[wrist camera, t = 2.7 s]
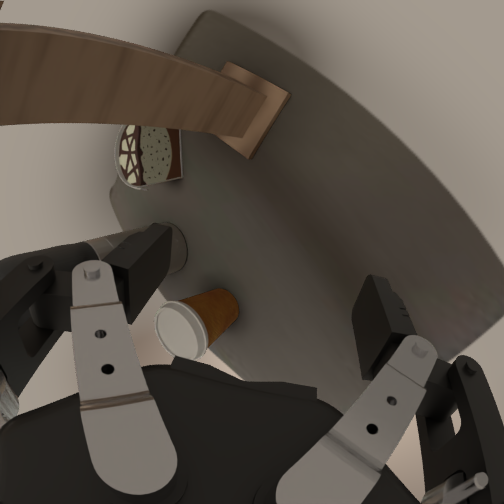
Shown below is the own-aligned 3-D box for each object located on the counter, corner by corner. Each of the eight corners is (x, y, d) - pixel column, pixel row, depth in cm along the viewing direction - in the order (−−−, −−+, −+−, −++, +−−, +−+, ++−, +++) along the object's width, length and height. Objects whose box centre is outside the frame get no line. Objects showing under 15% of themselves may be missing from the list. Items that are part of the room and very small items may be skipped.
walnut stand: (198, 121, 45) (-54, 114, 13) (230, 62, 40) (-25, 0, 8) (251, 159, 42) (-58, 176, 10) (291, 94, 37) (-26, 0, 5)
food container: (156, 123, 50) (111, 119, 41) (180, 116, 47) (134, 109, 38) (159, 188, 53) (114, 194, 44) (183, 186, 49) (137, 191, 41)
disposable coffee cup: (222, 268, 49) (169, 291, 39) (258, 315, 47) (212, 350, 37) (193, 297, 54) (143, 322, 44) (224, 339, 52) (179, 372, 42)
